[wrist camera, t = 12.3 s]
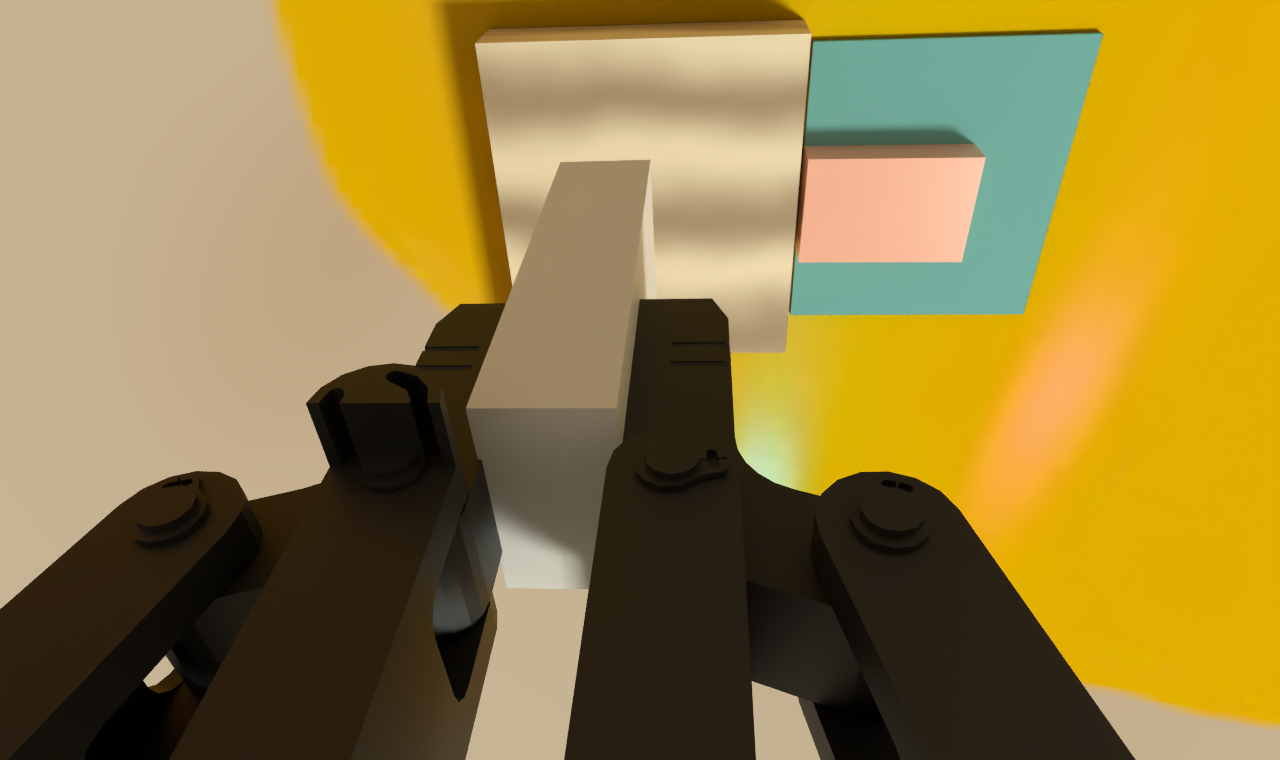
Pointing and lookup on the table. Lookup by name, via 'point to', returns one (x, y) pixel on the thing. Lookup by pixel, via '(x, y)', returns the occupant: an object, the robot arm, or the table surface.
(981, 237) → the mat
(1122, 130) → the table surface
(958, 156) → the pink rectangular block
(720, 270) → the beige striped slab
